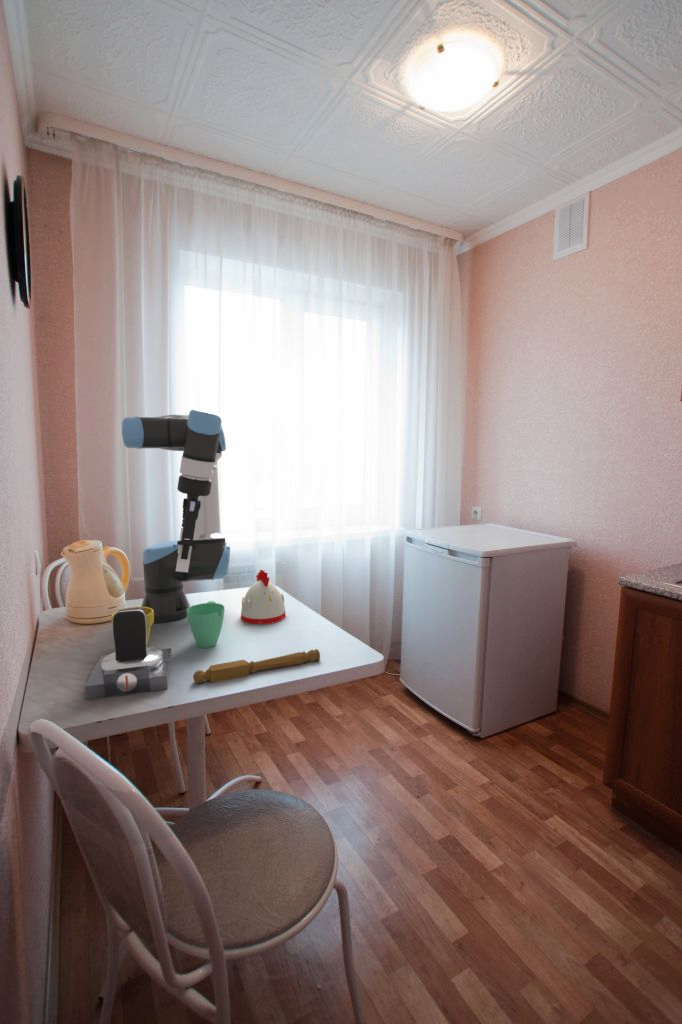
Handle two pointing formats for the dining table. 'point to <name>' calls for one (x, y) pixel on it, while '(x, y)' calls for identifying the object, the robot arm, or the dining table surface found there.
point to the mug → (206, 623)
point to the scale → (130, 674)
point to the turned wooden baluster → (252, 666)
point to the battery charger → (130, 634)
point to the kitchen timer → (262, 602)
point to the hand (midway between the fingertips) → (182, 561)
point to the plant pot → (149, 618)
